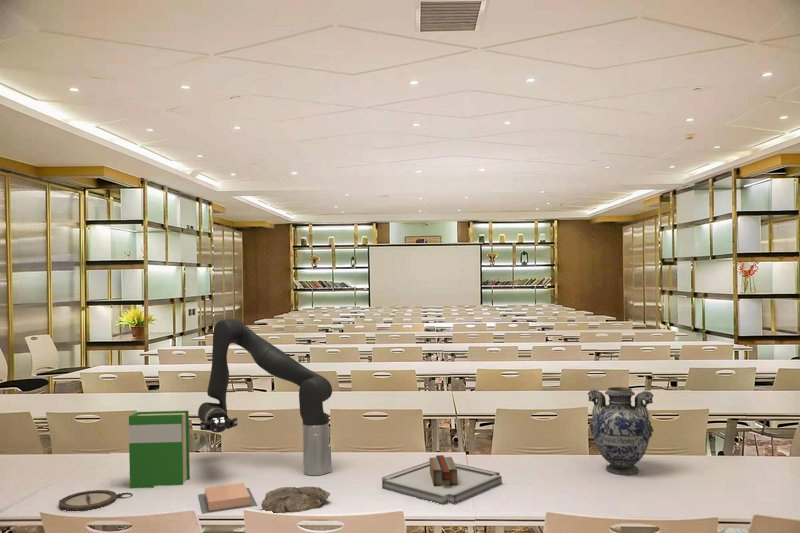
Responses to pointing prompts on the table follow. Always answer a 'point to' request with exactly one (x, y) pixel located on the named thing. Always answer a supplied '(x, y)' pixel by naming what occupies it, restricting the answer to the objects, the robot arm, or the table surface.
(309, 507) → the clay tablet
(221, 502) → the terracotta tile
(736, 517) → the table surface
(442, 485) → the grey square tray
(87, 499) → the compass
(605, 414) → the decorative vase
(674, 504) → the table surface
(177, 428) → the hardback book
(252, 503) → the rubber mat
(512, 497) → the table surface
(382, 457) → the table surface
